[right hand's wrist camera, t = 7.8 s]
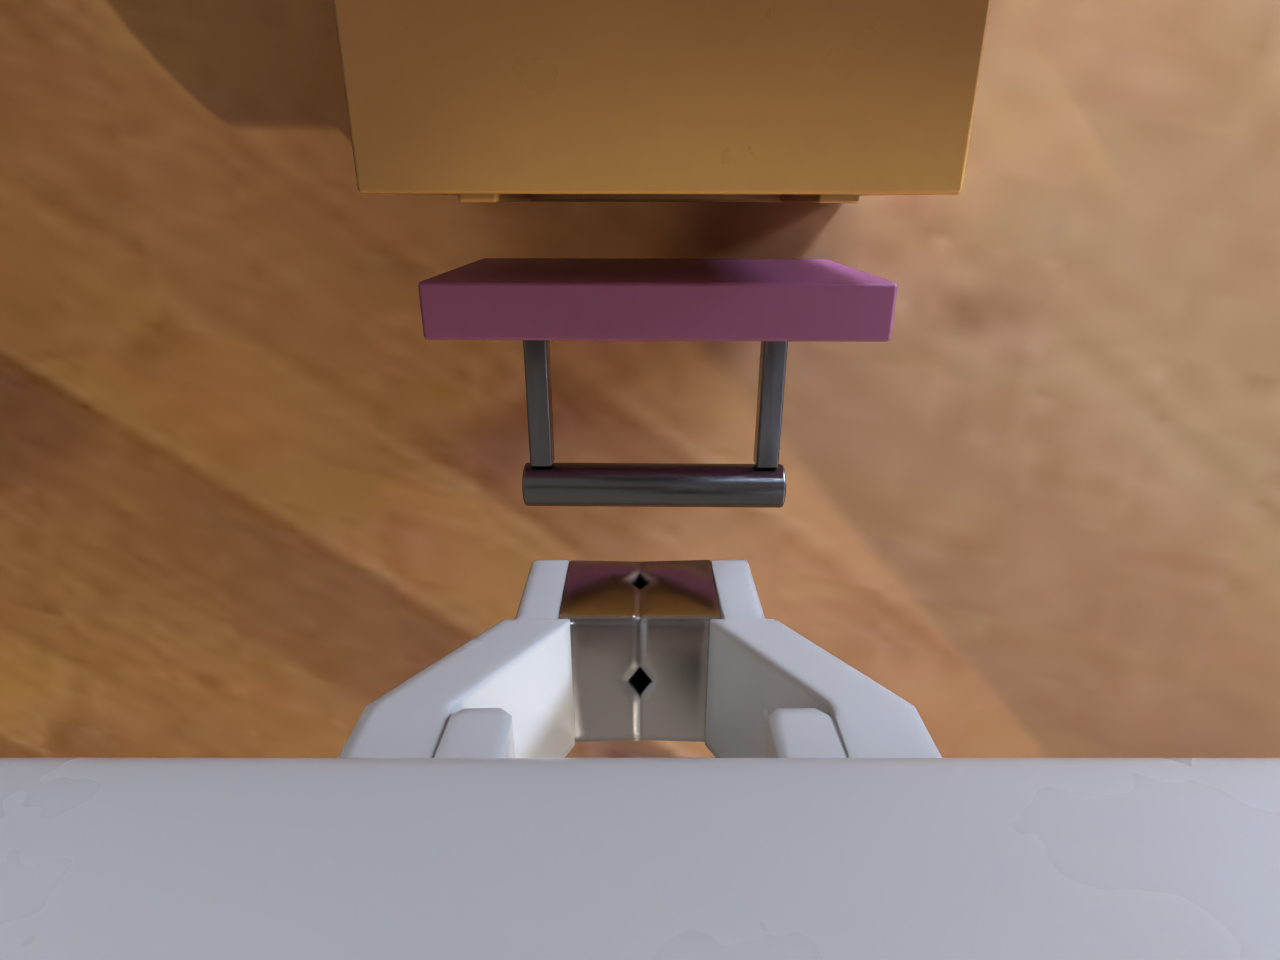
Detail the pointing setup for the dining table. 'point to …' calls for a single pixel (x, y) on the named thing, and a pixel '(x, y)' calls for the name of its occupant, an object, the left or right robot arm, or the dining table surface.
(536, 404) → the drawer
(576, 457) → the dining table surface
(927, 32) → the cabinet
